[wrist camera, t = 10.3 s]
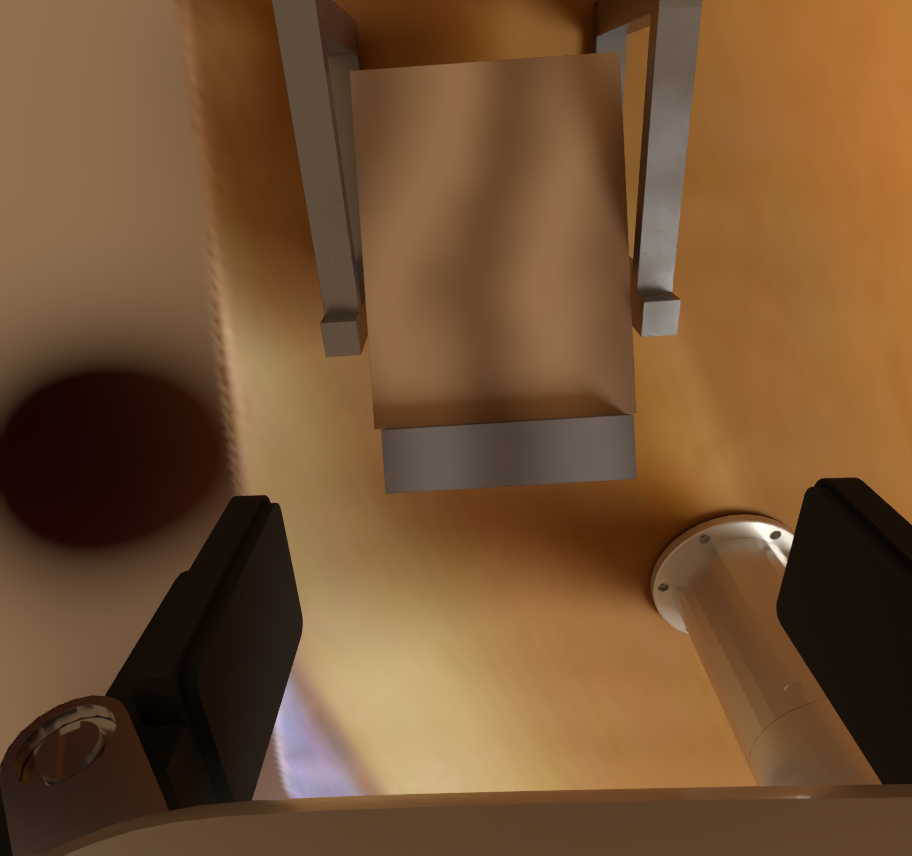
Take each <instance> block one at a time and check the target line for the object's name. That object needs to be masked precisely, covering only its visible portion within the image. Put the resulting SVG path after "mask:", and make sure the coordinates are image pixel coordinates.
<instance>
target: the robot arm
mask: <svg viewBox="0 0 912 856" xmlns="http://www.w3.org/2000/svg"><path fill="white" fill-rule="evenodd" d="M650 586H651V595H652V598H653V600H654V603H655V606H656V608H657V610H658V612H659V614H660V615H661V616H662V618H663V619H664V620H665V621H666V622H667V623H668V624H669V625H671V626H672V627H674V628H675V629H677V630H679V631H681V632H683V633H685V634H688V635H690V638H691V640H692V642H693V644H694V646H695V649H696V651H697V653H698V655H699V657H700V660H701V662H702V664H703V666H704V668H705V671H706V673H707V675H708V677H709V679H710V682H711V684H712V686H713V688H714V690H715V693H716V695H717V697H718V699H719V701H720V704H721V706H722V708H723V710H724V712H725V715H726V717H727V719H728V721H729V723H730V726H731V728H732V730H733V732H734V734H735V737H736V739H737V741H738V743H739V745H740V748H741V750H742V752H743V754H744V756H745V759H746V761H747V763H748V765H749V768H750V770H751V772H752V774H753V776H754V778H755V781H756V783H757V785H758V786H751V787H699V788H649V789H602V790H556V791H515V792H477V793H440V794H402V795H365V796H342V797H319V798H297V799H274V800H254V801H252V798H253V795H254V791H255V788H256V785H257V781H258V778H259V775H260V771H261V768H262V764H263V761H264V758H265V755H266V751H267V748H268V745H269V741H270V738H271V735H272V731H273V728H274V725H275V721H276V718H277V715H278V711H279V708H280V705H281V702H282V698H283V695H284V692H285V688H286V685H287V682H288V678H289V675H290V672H291V668H292V665H293V662H294V658H295V655H296V652H297V648H298V645H299V642H300V638H301V634H302V626H303V619H302V612H301V607H300V602H299V597H298V592H297V587H296V582H295V577H294V572H293V567H292V562H291V557H290V552H289V547H288V542H287V537H286V532H285V527H284V522H283V517H282V512H281V508H280V505H279V504H278V503H271V502H270V500H269V498H268V497H267V496H266V495H257V496H235V497H233V498H232V499H231V500H230V502H229V504H228V505H227V507H226V509H225V510H224V512H223V514H222V515H221V517H220V519H219V521H218V522H217V524H216V525H215V528H214V529H213V531H212V532H211V534H210V536H209V537H208V539H207V541H206V542H205V544H204V546H203V548H202V550H201V551H200V553H199V554H198V556H197V558H196V559H195V561H194V563H193V564H192V566H191V568H190V569H189V571H185V572H183V573H181V574H180V575H179V576H178V577H177V579H176V580H175V581H174V583H173V585H172V587H171V588H170V590H169V591H168V593H167V595H166V596H165V598H164V600H163V601H162V603H161V605H160V606H159V608H158V609H157V611H156V613H155V614H154V616H153V618H152V619H151V621H150V622H149V624H148V626H147V627H146V629H145V631H144V632H143V634H142V636H141V637H140V639H139V641H138V642H137V644H136V646H135V647H134V649H133V650H132V652H131V654H130V655H129V657H128V659H127V660H126V662H125V664H124V665H123V667H122V668H121V670H120V672H119V673H118V675H117V677H116V679H115V680H114V682H113V684H112V685H111V687H110V688H109V690H108V691H107V693H106V695H105V696H97V695H91V696H86V697H81V698H77V699H73V700H70V701H68V702H65V703H63V704H61V705H58V706H56V707H54V708H52V709H51V710H49V711H47V712H46V713H44V714H43V715H41V716H39V717H38V718H36V719H35V720H34V721H33V722H32V723H31V724H29V725H28V726H27V727H26V728H25V729H24V730H22V731H21V732H20V733H19V735H18V736H17V737H16V739H15V740H14V741H13V742H12V743H11V745H10V746H9V747H8V749H7V751H6V753H5V755H4V758H3V760H2V762H1V764H0V856H912V525H911V524H910V523H909V522H908V521H906V520H905V519H904V518H903V517H902V516H901V515H900V514H899V513H898V512H896V511H895V510H894V509H893V508H892V507H891V506H890V505H889V504H888V503H886V502H885V501H884V500H883V499H882V498H881V497H880V496H879V495H878V494H876V493H875V492H874V491H873V490H872V489H871V488H870V487H869V486H868V485H866V484H865V483H864V482H863V481H862V480H860V479H858V478H822V479H820V480H818V481H817V483H816V484H815V486H814V487H810V488H808V489H807V491H806V493H805V495H804V499H803V503H802V507H801V511H800V514H799V518H798V522H797V526H796V530H795V533H794V532H792V531H791V530H790V529H789V528H788V527H787V526H785V525H784V524H782V523H780V522H778V521H776V520H774V519H771V518H767V517H764V516H759V515H749V514H741V515H729V516H724V517H719V518H715V519H712V520H709V521H706V522H703V523H701V524H699V525H697V526H695V527H693V528H691V529H689V530H687V531H686V532H684V533H683V534H682V535H680V536H679V537H678V538H676V539H675V540H674V541H673V542H672V543H671V544H670V545H669V546H668V547H667V548H666V549H665V550H664V551H663V553H662V554H661V556H660V557H659V559H658V560H657V562H656V564H655V567H654V569H653V572H652V576H651V582H650Z"/></svg>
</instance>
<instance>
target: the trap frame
mask: <svg viewBox="0 0 912 856" xmlns="http://www.w3.org/2000/svg"><path fill="white" fill-rule="evenodd" d="M272 4H273V10H274V16H275V22H276V27H277V33H278V39H279V45H280V51H281V57H282V63H283V69H284V75H285V81H286V87H287V93H288V99H289V105H290V111H291V116H292V122H293V128H294V134H295V140H296V146H297V152H298V158H299V164H300V170H301V176H302V182H303V188H304V194H305V200H306V206H307V211H308V217H309V223H310V229H311V235H312V241H313V247H314V253H315V259H316V265H317V271H318V277H319V283H320V289H321V295H322V300H323V306H324V312H325V316H324V318H323V319H322V321H321V323H320V325H321V331H322V336H323V342H324V348H325V354H326V357H333V356H349V355H361V353H362V350H363V347H364V344H365V341H366V338H367V335H368V326H367V312H366V298H365V284H364V269H363V255H362V241H361V227H360V213H359V198H358V184H357V170H356V156H355V142H354V128H353V113H352V99H351V85H350V71H358V70H361V68H360V60H359V51H358V43H357V34H356V26H355V20H354V19H353V18H352V17H351V16H349V15H348V14H347V13H346V12H345V11H344V10H343V9H342V8H340V7H339V6H338V5H337V4H336V3H335V2H334V1H333V0H272ZM701 7H702V0H598V1H596V2H595V16H594V43H593V53H607V52H620V68H621V90H622V112H623V97H624V79H625V62H626V45H627V34H630V33H632V32H635V31H638V30H640V29H643V28H646V27H648V26H650V33H649V47H648V61H647V75H646V89H645V103H644V117H643V131H642V145H641V158H640V172H639V186H638V200H637V214H636V228H635V242H634V256H633V259H632V258H631V257H629V268H630V290H631V313H632V326H633V327H634V328H635V330H636V331H637V332H638V333H639V334H640V336H641V337H646V336H662V335H677V329H678V320H679V311H680V302H681V300H680V299H679V298H678V297H677V296H675V295H674V294H673V293H672V287H673V277H674V267H675V258H676V248H677V238H678V229H679V219H680V210H681V200H682V190H683V181H684V171H685V161H686V152H687V142H688V133H689V123H690V113H691V104H692V94H693V84H694V75H695V65H696V56H697V46H698V36H699V27H700V17H701Z"/></svg>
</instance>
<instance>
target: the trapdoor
mask: <svg viewBox="0 0 912 856" xmlns="http://www.w3.org/2000/svg"><path fill="white" fill-rule="evenodd" d="M350 85H351V99H352V113H353V128H354V142H355V156H356V170H357V184H358V198H359V213H360V227H361V241H362V255H363V269H364V284H365V298H366V312H367V326H368V340H369V354H370V369H371V383H372V397H373V411H374V425H375V429H383V430H381V431H382V446H383V460H384V474H385V489H386V494H388V493H405V492H422V491H439V490H455V489H472V488H489V487H506V486H522V485H539V484H556V483H573V482H590V481H606V480H623V479H636V461H635V439H634V417H633V415H631V414H627V413H636V402H635V380H634V357H633V335H632V313H631V290H630V268H629V246H628V224H627V201H626V179H625V157H624V135H623V112H622V90H621V68H620V52H607V53H593V54H579V55H565V56H552V57H538V58H524V59H510V60H496V61H482V62H469V63H455V64H441V65H427V66H413V67H400V68H386V69H372V70H358V71H350ZM384 428H385V429H384Z"/></svg>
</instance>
